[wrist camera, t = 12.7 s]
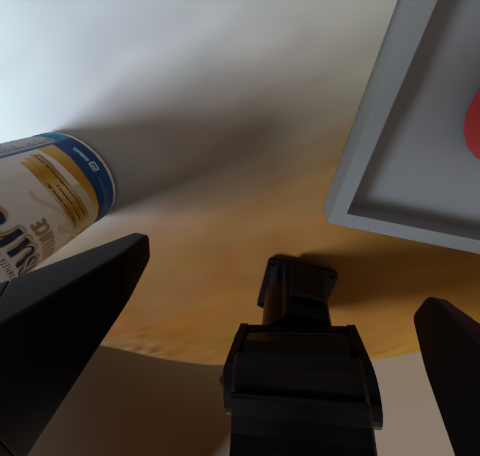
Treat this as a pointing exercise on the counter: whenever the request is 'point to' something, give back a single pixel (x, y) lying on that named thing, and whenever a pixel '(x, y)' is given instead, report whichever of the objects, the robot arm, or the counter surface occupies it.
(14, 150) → the beverage bottle
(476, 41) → the tray
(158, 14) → the counter surface
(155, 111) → the counter surface
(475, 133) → the beer can
